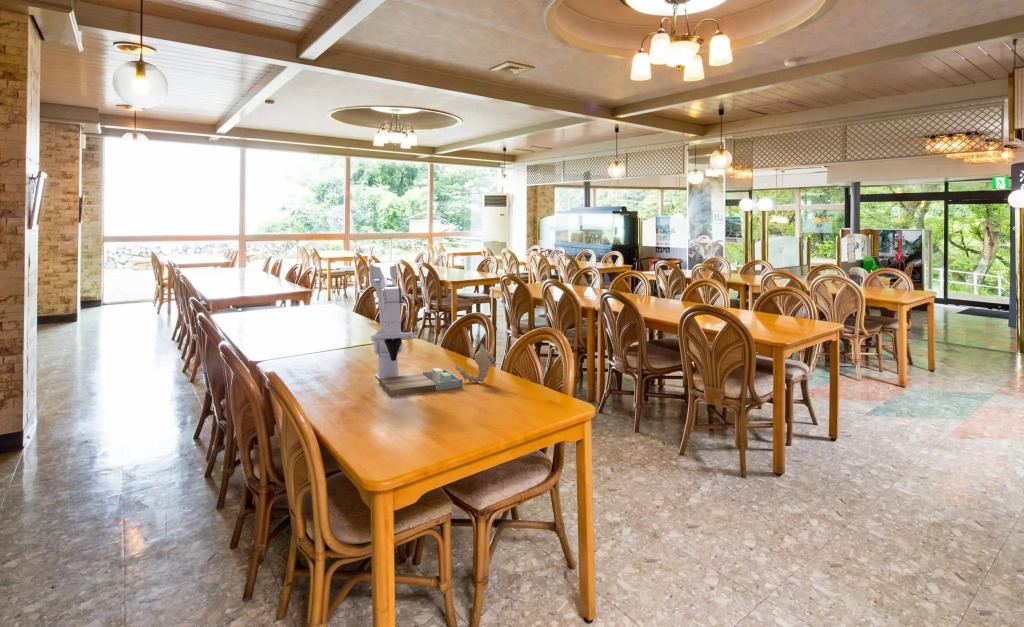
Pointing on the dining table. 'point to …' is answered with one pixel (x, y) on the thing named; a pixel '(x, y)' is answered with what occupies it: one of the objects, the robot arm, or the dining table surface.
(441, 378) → the grey-green block
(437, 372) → the tile
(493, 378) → the dining table surface
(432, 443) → the dining table surface
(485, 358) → the toy
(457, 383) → the tray
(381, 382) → the board
